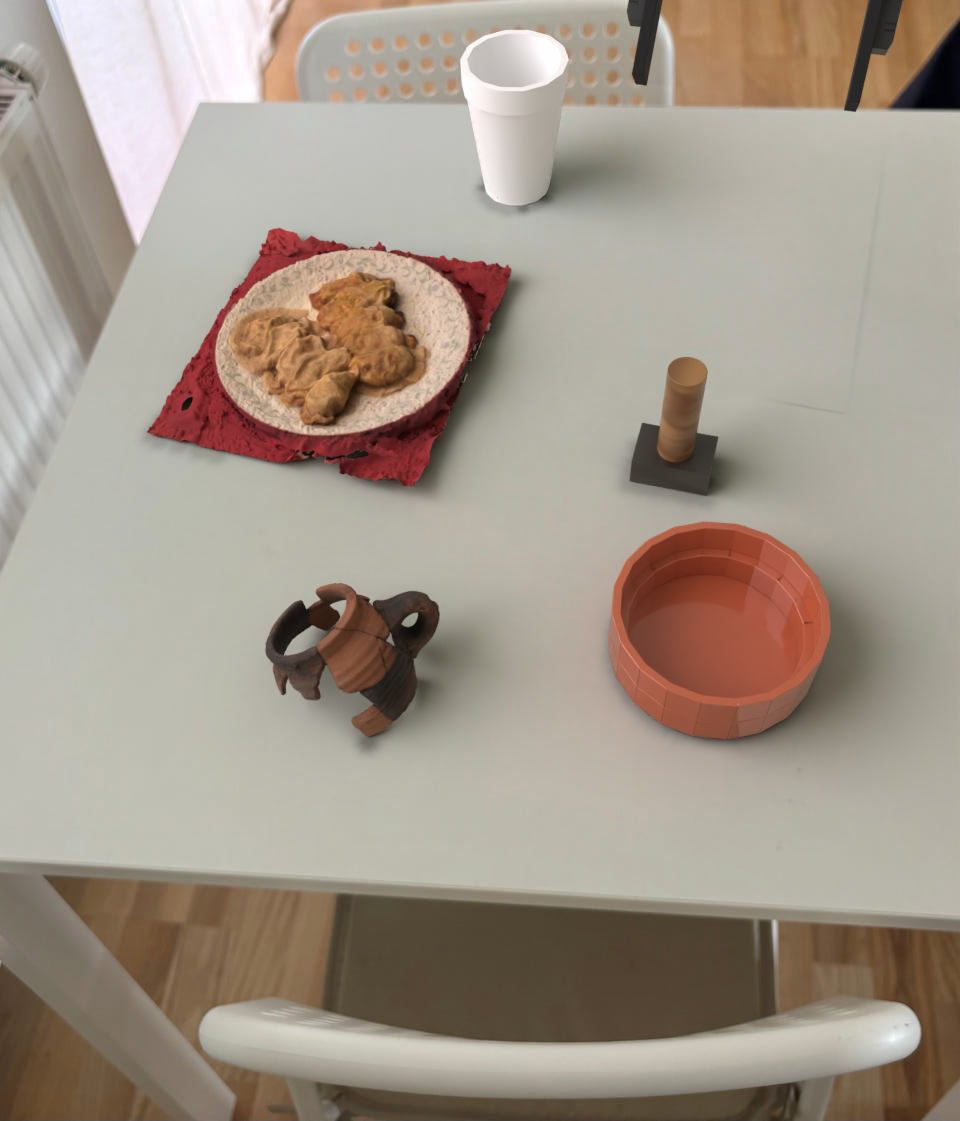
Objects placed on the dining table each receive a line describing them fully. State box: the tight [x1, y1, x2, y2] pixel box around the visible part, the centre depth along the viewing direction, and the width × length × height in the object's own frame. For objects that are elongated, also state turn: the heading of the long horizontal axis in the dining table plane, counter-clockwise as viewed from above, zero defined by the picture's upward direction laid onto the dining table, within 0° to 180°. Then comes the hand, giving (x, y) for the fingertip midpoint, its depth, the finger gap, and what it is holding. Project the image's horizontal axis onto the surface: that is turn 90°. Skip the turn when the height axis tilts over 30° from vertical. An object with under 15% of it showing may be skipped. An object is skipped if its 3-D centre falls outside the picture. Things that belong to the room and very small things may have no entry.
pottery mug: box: [264, 582, 441, 738], centre depth 76 cm, size 12×10×8 cm
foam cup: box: [459, 29, 570, 207], centre depth 102 cm, size 10×9×13 cm
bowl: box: [607, 521, 832, 740], centre depth 75 cm, size 14×14×6 cm
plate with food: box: [146, 227, 512, 487], centre depth 94 cm, size 24×26×4 cm
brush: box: [629, 356, 719, 497], centre depth 82 cm, size 6×4×11 cm, turn 74°
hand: (743, 93), depth 71 cm, fingers open, 13 cm apart
